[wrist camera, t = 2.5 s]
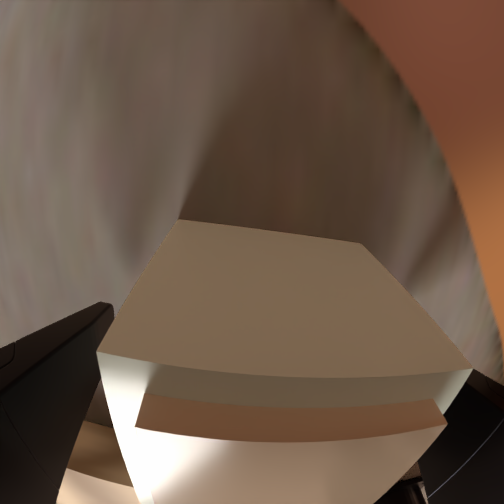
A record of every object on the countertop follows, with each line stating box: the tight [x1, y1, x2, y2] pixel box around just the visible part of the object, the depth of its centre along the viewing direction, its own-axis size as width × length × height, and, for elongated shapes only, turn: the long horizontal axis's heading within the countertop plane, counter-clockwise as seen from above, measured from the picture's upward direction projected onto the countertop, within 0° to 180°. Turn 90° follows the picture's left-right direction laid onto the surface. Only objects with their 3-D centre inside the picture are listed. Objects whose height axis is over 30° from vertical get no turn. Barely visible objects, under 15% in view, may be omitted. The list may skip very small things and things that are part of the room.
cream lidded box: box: [96, 219, 473, 504], centre depth 7 cm, size 6×6×7 cm
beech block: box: [56, 421, 141, 504], centre depth 13 cm, size 9×9×4 cm
